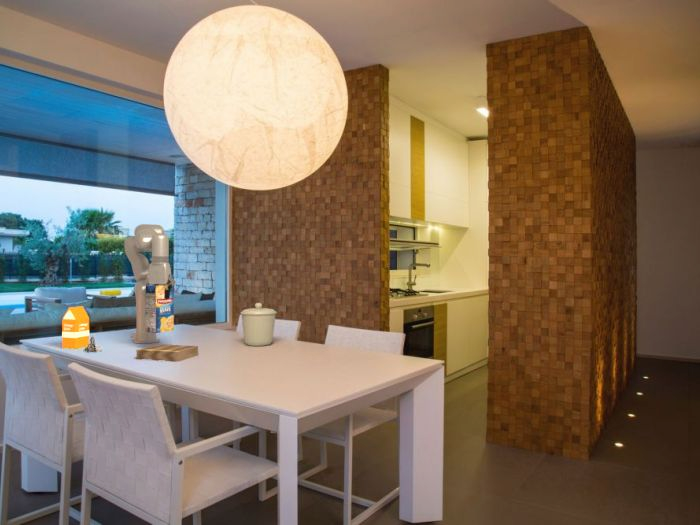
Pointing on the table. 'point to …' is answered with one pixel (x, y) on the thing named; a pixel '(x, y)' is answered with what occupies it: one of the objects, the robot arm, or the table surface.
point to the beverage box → (159, 309)
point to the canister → (258, 325)
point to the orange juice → (75, 328)
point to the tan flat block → (167, 352)
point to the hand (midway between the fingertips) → (159, 297)
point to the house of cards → (94, 348)
